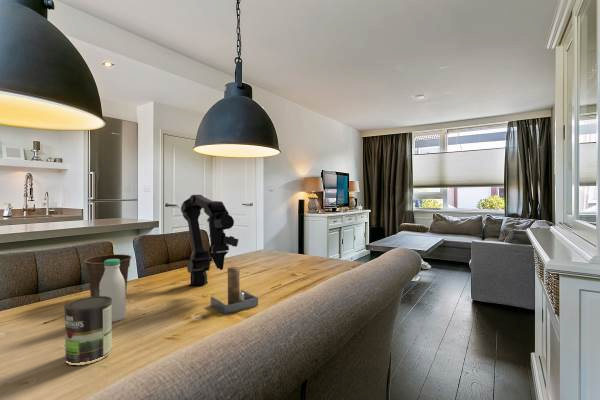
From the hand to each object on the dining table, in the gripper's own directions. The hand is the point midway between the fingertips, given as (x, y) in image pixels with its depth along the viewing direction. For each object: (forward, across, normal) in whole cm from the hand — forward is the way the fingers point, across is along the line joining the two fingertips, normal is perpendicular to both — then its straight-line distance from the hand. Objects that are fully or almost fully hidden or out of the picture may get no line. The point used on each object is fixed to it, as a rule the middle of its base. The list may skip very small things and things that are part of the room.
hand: (220, 269), depth 129 cm
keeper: (+13, -11, -3) cm, 17 cm away
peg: (+13, -11, -3) cm, 17 cm away
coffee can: (+15, -34, +39) cm, 54 cm away
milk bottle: (+11, -9, +38) cm, 40 cm away
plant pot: (+6, +16, +43) cm, 46 cm away
